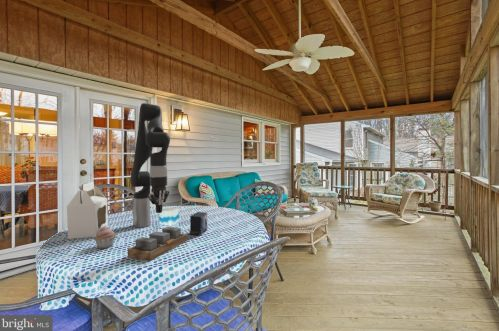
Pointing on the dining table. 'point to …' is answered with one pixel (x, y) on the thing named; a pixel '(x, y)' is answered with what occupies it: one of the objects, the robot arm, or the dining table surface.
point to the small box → (198, 223)
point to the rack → (156, 245)
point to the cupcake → (105, 237)
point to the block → (160, 237)
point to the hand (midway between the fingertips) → (159, 212)
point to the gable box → (87, 212)
